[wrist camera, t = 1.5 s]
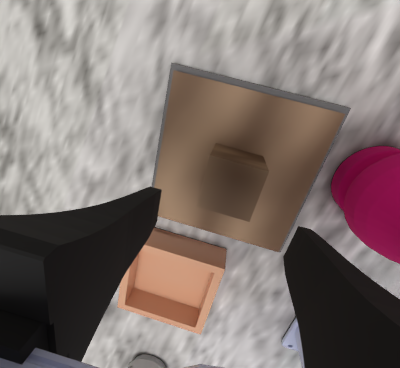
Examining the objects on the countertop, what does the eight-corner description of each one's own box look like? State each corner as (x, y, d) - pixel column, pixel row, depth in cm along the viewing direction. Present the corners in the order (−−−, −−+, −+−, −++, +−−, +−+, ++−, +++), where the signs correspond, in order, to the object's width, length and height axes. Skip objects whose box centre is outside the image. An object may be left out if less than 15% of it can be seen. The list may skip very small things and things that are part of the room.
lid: (340, 113, 17) (377, 119, 12) (277, 246, 22) (286, 285, 17) (176, 71, 17) (155, 62, 13) (152, 209, 23) (131, 237, 18)
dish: (226, 249, 24) (224, 269, 21) (204, 310, 28) (200, 334, 25) (138, 222, 24) (125, 238, 21) (129, 286, 28) (117, 307, 25)
